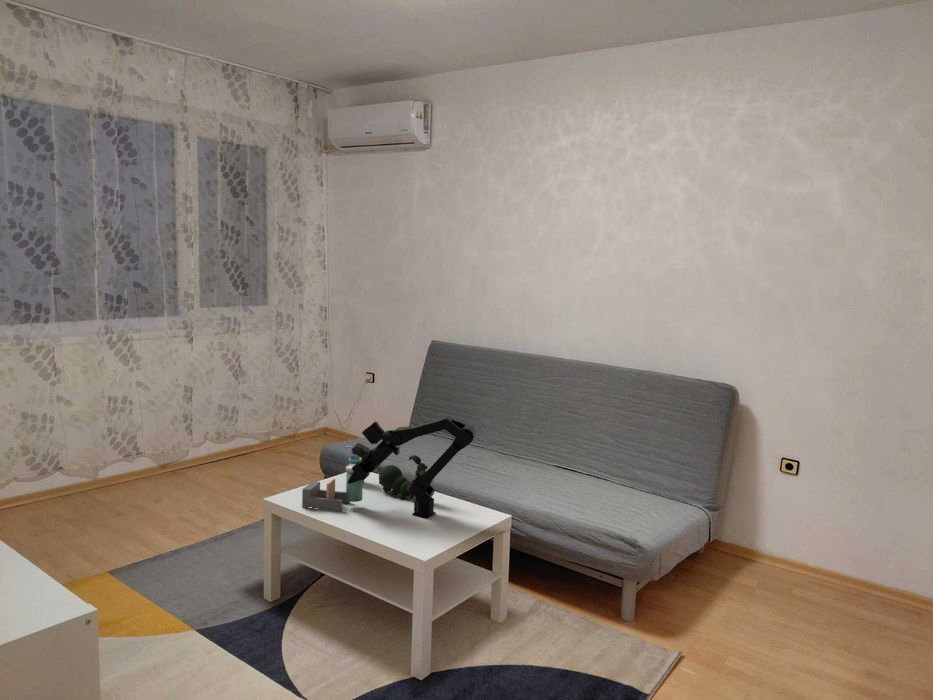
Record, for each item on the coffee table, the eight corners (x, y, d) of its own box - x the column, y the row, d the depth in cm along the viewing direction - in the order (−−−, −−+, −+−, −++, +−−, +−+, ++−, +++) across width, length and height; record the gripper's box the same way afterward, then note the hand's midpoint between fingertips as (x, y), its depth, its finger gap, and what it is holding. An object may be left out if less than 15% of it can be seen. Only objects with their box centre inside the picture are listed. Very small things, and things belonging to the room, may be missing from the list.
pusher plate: (334, 501, 257) (335, 478, 256) (328, 507, 250) (328, 484, 249) (332, 501, 257) (333, 478, 256) (326, 507, 250) (326, 484, 249)
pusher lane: (349, 502, 257) (350, 484, 257) (341, 511, 247) (341, 492, 247) (312, 499, 260) (312, 481, 259) (302, 507, 250) (302, 489, 249)
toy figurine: (429, 503, 266) (383, 484, 280) (434, 457, 262) (387, 440, 277) (413, 509, 258) (366, 489, 273) (418, 461, 255) (371, 444, 270)
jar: (366, 498, 253) (367, 466, 251) (355, 503, 247) (355, 469, 246) (353, 495, 256) (353, 463, 255) (341, 499, 250) (342, 466, 249)
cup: (338, 480, 284) (339, 445, 283) (353, 477, 290) (354, 442, 288) (358, 488, 275) (359, 452, 273) (373, 484, 280) (374, 449, 279)
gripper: (373, 431, 258) (344, 457, 260) (357, 443, 239) (327, 471, 242) (392, 453, 257) (364, 479, 260) (378, 466, 239) (348, 494, 242)
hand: (350, 480), depth 251 cm, fingers closed on jar, 6 cm apart
